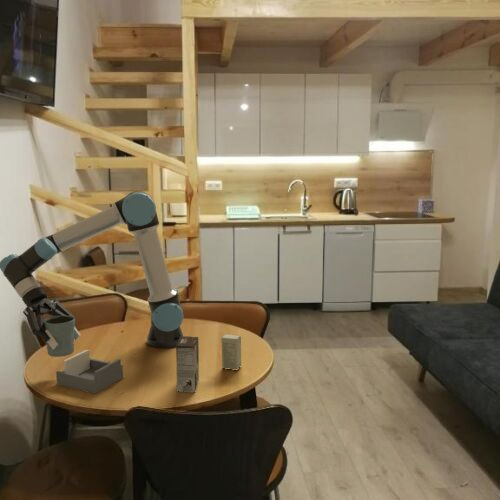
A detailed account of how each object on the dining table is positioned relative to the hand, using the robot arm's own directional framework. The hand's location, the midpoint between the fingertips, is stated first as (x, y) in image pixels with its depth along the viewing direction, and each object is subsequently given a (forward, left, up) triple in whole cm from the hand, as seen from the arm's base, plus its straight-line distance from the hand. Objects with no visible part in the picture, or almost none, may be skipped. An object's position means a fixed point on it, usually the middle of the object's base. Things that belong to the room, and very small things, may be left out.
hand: (67, 342), depth 167 cm
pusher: (-3, +2, -11) cm, 12 cm away
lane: (-8, +5, -12) cm, 16 cm away
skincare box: (-57, +1, -13) cm, 59 cm away
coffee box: (-41, +14, -13) cm, 45 cm away
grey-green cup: (+3, -2, -4) cm, 5 cm away
